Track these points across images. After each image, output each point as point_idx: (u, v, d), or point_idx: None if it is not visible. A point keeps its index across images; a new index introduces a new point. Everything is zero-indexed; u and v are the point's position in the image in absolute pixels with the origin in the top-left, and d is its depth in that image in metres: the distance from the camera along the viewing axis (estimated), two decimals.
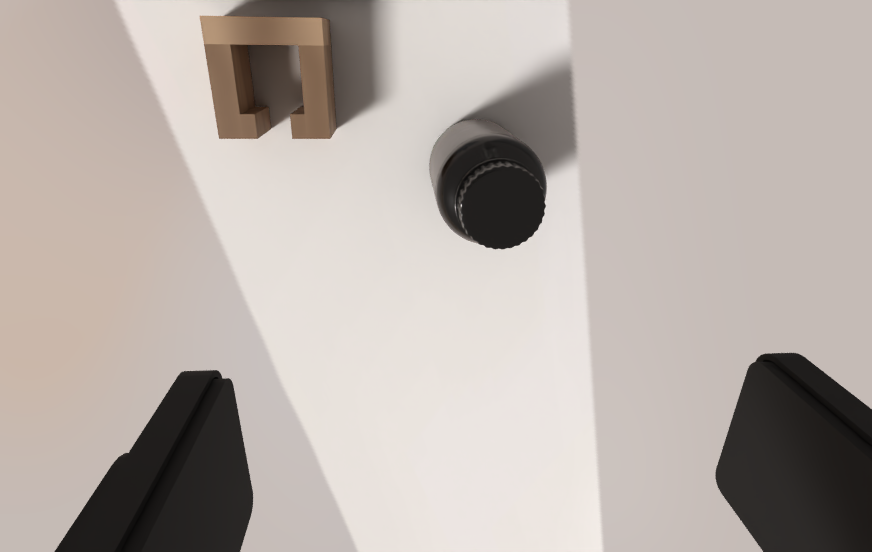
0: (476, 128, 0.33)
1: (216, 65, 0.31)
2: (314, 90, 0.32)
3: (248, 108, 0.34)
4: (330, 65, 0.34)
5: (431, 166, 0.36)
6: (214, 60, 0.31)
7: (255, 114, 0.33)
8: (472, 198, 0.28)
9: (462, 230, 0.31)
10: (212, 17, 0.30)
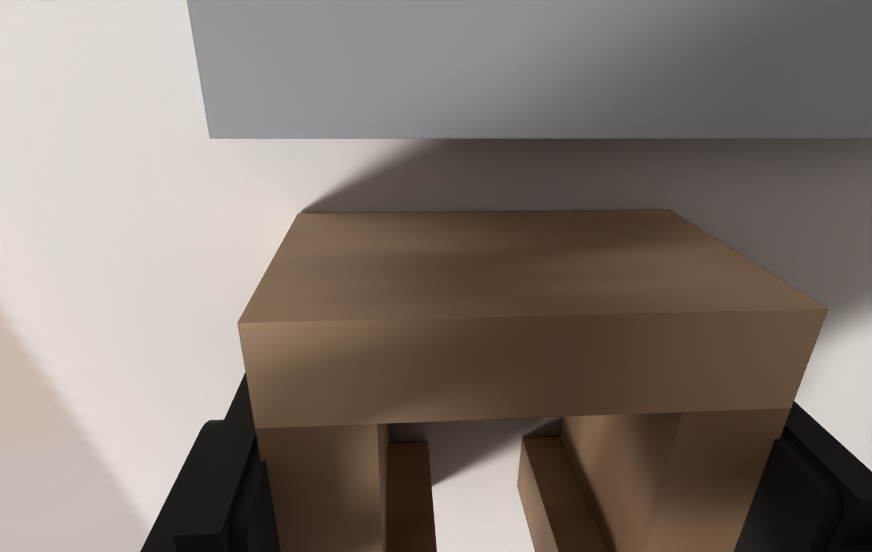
0: None
1: (305, 496, 0.07)
2: (695, 543, 0.08)
3: (387, 506, 0.10)
4: None
5: None
6: (299, 481, 0.07)
7: None
8: None
9: None
10: (302, 327, 0.06)
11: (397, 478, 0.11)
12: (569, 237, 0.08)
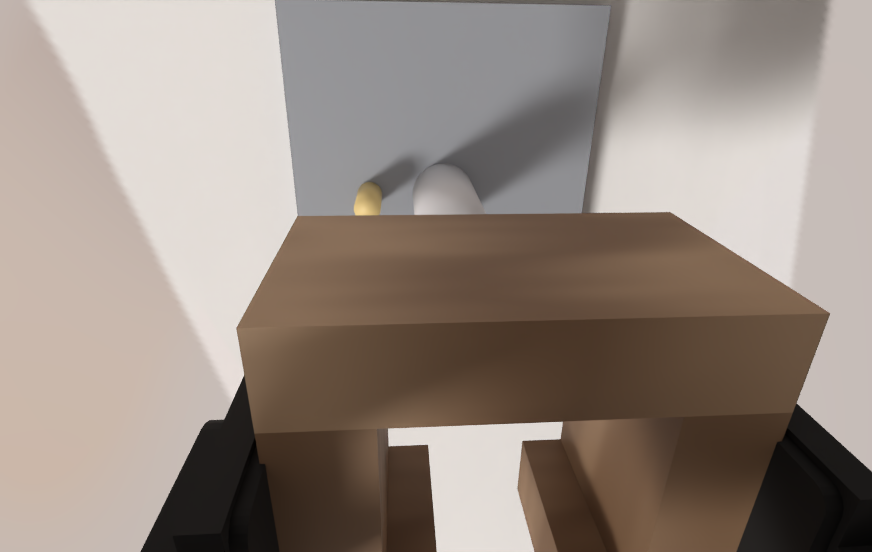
0: None
1: (305, 501, 0.07)
2: (696, 547, 0.08)
3: (387, 509, 0.10)
4: None
5: None
6: (299, 486, 0.07)
7: None
8: None
9: None
10: (302, 332, 0.06)
11: (397, 481, 0.11)
12: (570, 240, 0.08)
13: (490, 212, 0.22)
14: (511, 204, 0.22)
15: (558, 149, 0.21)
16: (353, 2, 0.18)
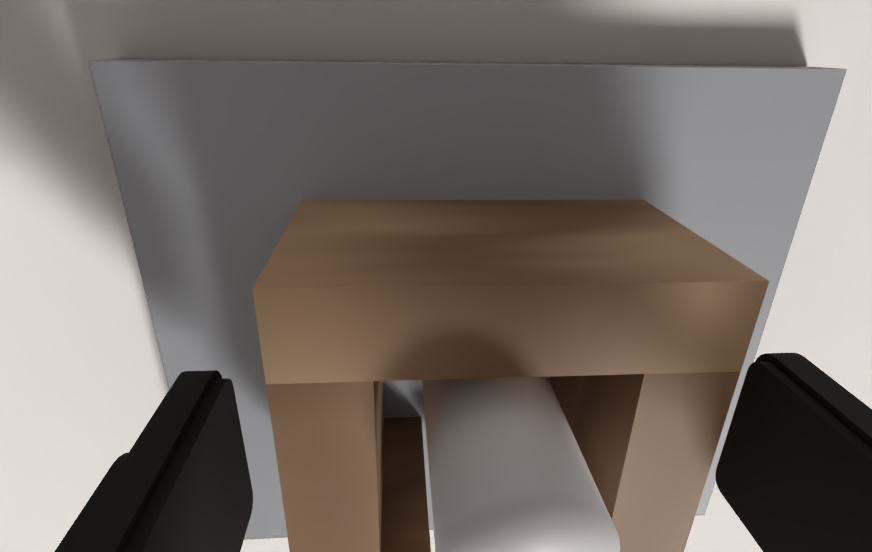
0: None
1: (310, 447, 0.08)
2: (659, 497, 0.09)
3: (382, 471, 0.11)
4: None
5: None
6: (304, 434, 0.08)
7: None
8: None
9: None
10: (309, 293, 0.07)
11: (392, 448, 0.12)
12: (549, 222, 0.09)
13: None
14: None
15: (390, 140, 0.10)
16: None
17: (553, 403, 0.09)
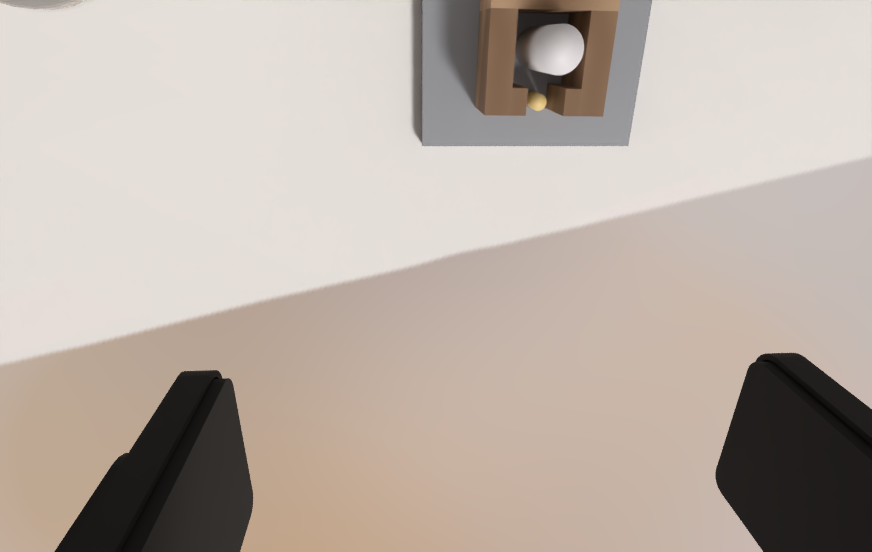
0: None
1: (498, 32, 0.28)
2: (598, 62, 0.29)
3: None
4: None
5: None
6: (498, 27, 0.28)
7: None
8: None
9: None
10: None
11: None
12: None
13: None
14: None
15: None
16: (423, 102, 0.33)
17: None
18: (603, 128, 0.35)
